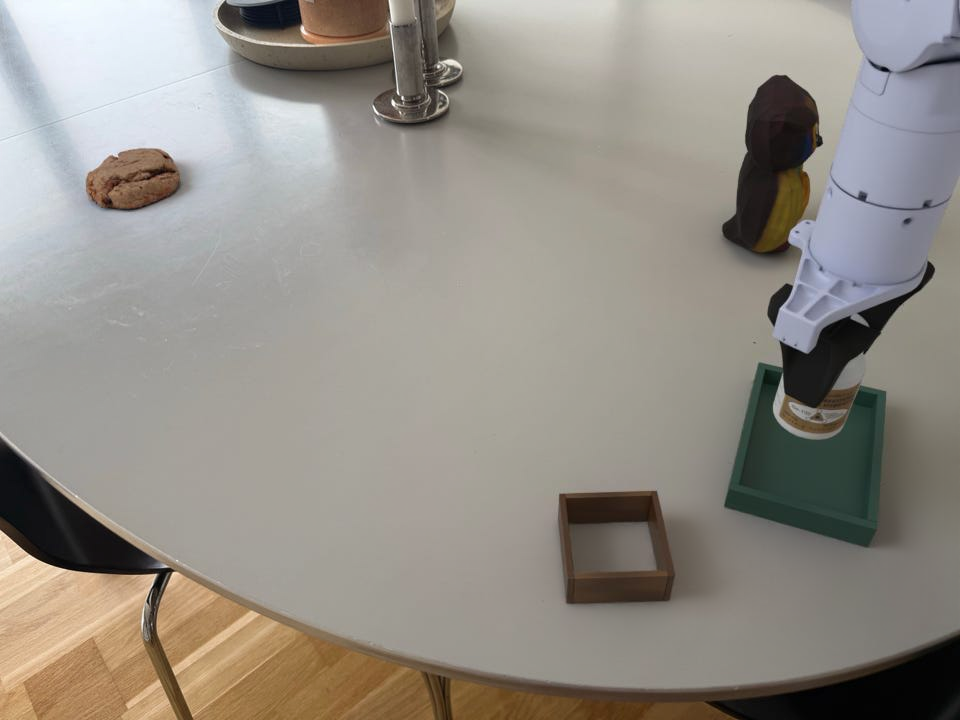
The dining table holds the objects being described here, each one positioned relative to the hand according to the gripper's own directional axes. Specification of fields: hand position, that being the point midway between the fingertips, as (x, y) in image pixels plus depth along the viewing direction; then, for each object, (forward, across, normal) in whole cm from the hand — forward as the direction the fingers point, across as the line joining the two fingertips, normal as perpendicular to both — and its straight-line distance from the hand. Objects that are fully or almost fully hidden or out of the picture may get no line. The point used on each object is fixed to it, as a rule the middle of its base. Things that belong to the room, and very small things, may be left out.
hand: (822, 376), depth 50 cm
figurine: (+10, -24, -16) cm, 31 cm away
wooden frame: (+10, +13, -5) cm, 17 cm away
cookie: (+11, +10, -72) cm, 74 cm away
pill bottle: (+4, 0, 0) cm, 4 cm away
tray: (+10, -3, 0) cm, 11 cm away
